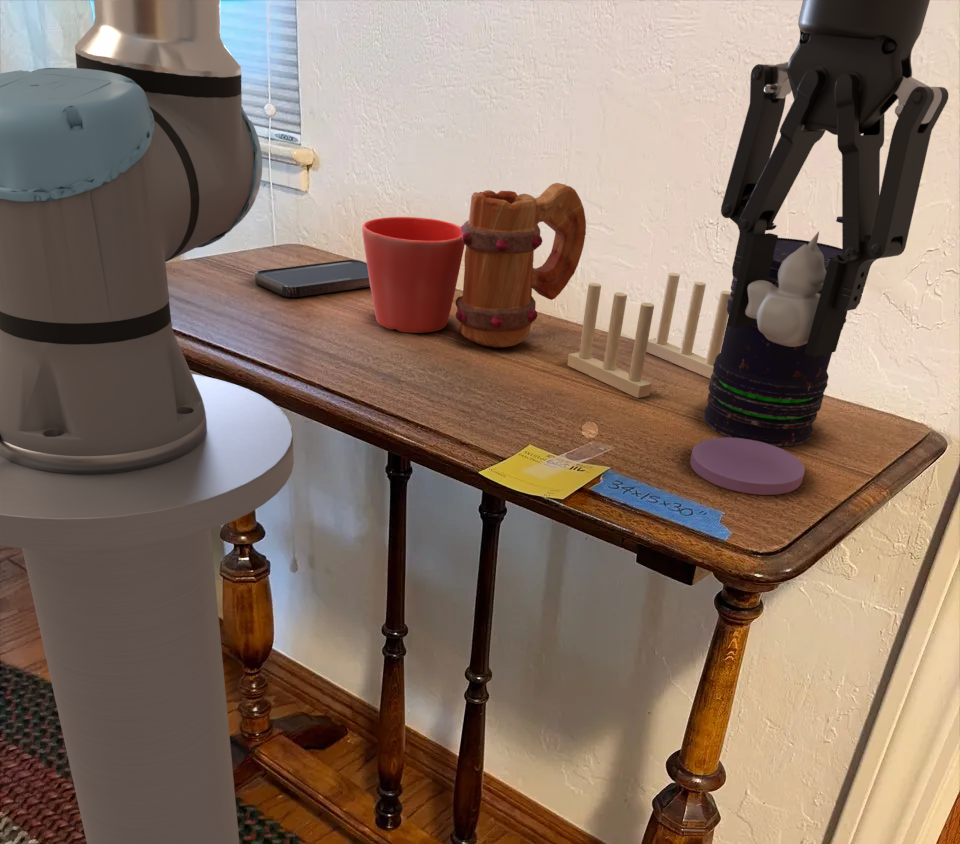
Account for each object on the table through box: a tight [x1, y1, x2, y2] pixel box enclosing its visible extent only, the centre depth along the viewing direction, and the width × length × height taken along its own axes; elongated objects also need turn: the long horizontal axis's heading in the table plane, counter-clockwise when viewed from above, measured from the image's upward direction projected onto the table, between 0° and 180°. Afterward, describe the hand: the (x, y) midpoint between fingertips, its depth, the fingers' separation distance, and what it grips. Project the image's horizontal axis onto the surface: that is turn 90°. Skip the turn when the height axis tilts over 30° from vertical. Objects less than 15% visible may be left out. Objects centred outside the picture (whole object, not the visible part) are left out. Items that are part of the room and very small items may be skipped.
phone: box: [254, 259, 371, 298], centre depth 113 cm, size 8×1×15 cm
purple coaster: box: [689, 437, 806, 496], centre depth 78 cm, size 9×9×1 cm
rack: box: [567, 272, 731, 399], centre depth 94 cm, size 13×10×8 cm
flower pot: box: [361, 216, 466, 334], centre depth 101 cm, size 11×11×10 cm
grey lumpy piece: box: [745, 231, 826, 347], centre depth 70 cm, size 5×7×8 cm
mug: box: [455, 182, 587, 349], centre depth 98 cm, size 15×8×15 cm, turn 122°
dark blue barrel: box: [703, 216, 848, 447], centre depth 81 cm, size 10×10×18 cm
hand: (780, 337), depth 72 cm, fingers closed on grey lumpy piece, 6 cm apart
